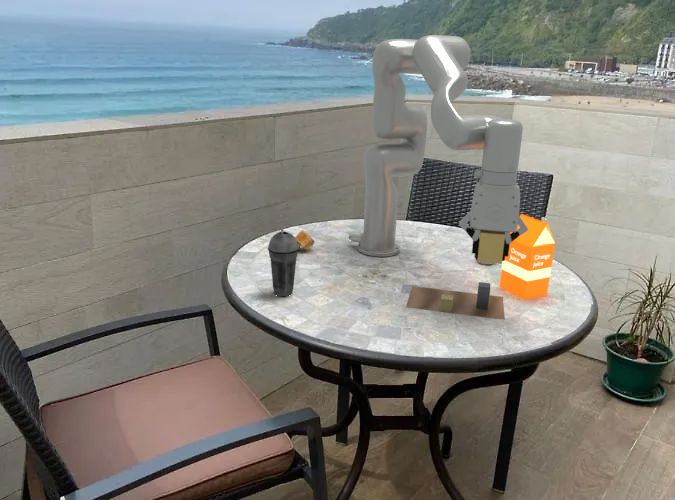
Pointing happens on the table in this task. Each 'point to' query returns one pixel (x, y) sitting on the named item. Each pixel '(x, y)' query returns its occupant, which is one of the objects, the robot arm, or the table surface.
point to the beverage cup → (283, 261)
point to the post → (483, 295)
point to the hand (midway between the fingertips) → (489, 257)
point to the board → (455, 302)
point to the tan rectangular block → (491, 246)
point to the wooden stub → (446, 303)
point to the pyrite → (304, 240)
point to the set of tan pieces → (374, 276)
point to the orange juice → (529, 261)
